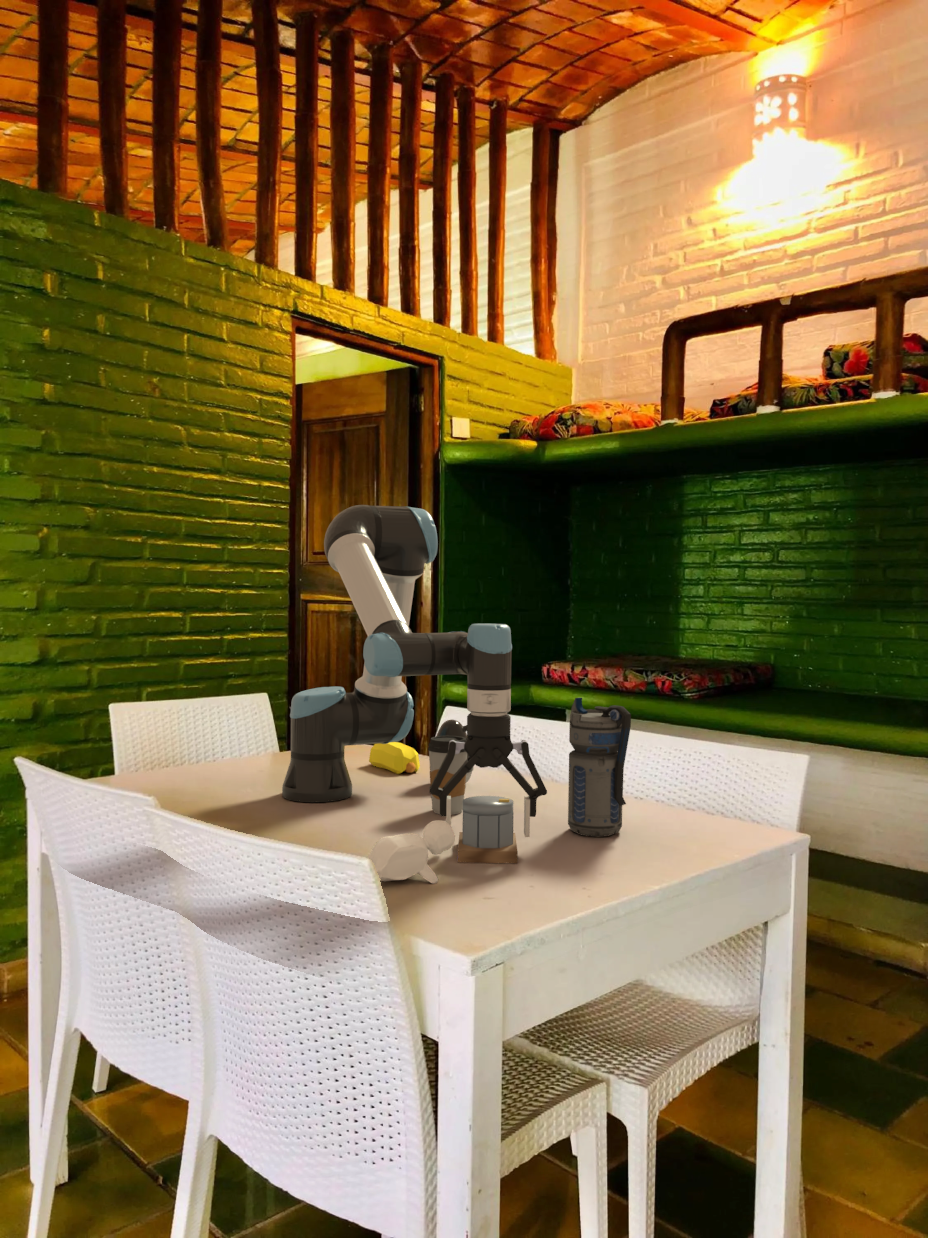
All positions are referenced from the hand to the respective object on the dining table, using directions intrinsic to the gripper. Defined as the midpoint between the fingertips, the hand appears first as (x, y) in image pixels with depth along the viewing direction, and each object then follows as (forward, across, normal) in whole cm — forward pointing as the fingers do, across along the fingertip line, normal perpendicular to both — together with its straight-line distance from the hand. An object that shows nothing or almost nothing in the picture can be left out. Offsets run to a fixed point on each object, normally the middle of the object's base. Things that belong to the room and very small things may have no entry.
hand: (487, 835), depth 168 cm
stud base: (+3, 0, 0) cm, 3 cm away
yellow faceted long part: (+3, -20, +75) cm, 78 cm away
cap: (+1, 0, 0) cm, 1 cm away
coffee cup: (+3, -7, +30) cm, 31 cm away
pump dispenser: (+3, -6, +56) cm, 57 cm away
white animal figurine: (+4, -13, -14) cm, 19 cm away
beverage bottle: (+3, +22, +14) cm, 26 cm away
